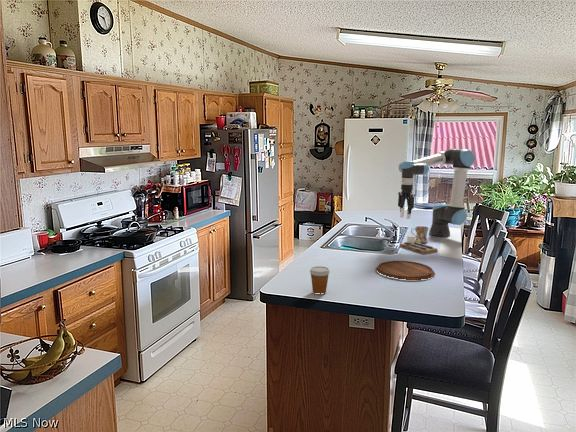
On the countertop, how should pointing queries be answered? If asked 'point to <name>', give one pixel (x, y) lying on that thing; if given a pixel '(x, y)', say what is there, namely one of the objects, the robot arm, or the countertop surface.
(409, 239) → the fader knob
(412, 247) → the wooden tray
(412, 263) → the cutting board
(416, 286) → the countertop surface
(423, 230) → the mug
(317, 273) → the beer glass
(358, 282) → the countertop surface
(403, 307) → the countertop surface
